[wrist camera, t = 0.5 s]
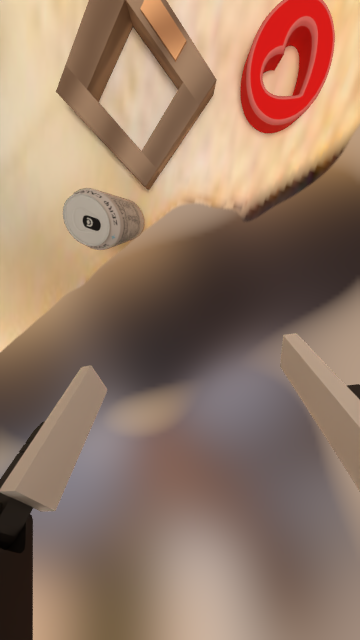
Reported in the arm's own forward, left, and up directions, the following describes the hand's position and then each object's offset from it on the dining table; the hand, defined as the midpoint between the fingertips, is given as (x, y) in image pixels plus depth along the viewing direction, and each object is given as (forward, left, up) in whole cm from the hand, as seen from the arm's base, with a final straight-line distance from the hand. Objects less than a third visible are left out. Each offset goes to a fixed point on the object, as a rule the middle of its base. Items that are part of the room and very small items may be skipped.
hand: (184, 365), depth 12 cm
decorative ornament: (-8, +26, -27) cm, 38 cm away
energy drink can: (-14, -1, -27) cm, 30 cm away
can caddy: (-21, +12, -27) cm, 36 cm away
